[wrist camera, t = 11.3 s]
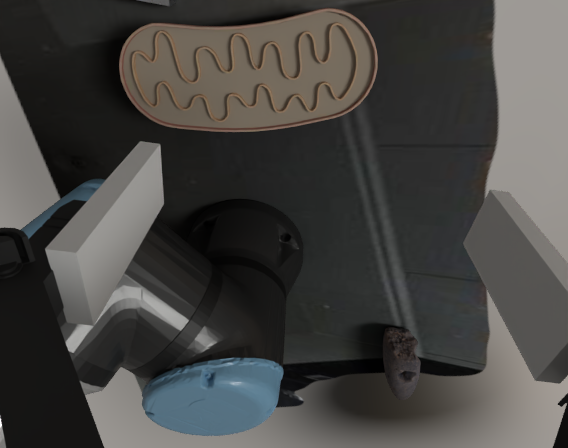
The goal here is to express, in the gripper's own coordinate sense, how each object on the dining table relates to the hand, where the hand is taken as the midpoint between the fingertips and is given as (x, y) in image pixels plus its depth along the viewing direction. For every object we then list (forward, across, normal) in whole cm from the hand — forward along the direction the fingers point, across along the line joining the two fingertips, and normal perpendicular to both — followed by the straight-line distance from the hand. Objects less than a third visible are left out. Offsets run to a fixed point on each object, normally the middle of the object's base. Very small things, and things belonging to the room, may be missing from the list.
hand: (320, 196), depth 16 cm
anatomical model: (+27, +6, +2) cm, 28 cm away
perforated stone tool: (+27, -21, +42) cm, 54 cm away
